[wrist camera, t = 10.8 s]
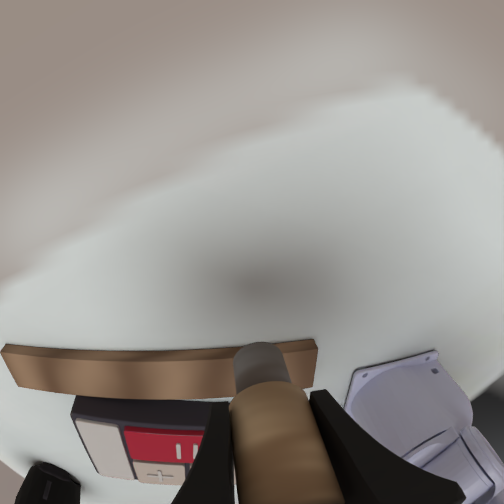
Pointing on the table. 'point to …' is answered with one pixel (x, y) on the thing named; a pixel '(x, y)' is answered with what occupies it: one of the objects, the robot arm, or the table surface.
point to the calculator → (141, 436)
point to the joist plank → (145, 371)
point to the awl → (276, 435)
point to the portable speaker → (48, 487)
